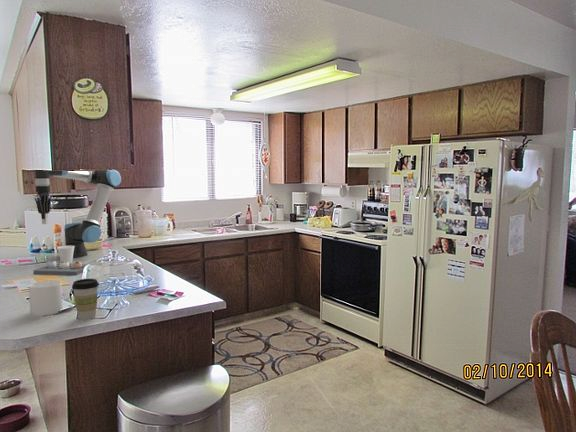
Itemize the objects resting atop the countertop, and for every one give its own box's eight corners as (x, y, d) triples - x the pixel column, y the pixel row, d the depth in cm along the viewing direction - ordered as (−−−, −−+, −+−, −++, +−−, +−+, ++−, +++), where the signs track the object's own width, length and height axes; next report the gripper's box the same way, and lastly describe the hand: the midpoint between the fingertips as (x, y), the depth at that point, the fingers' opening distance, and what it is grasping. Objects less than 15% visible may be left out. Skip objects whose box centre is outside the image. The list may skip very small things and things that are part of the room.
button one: (51, 268, 250) (50, 260, 249) (58, 268, 249) (58, 260, 249) (45, 270, 245) (45, 262, 244) (53, 270, 244) (52, 262, 244)
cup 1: (54, 305, 184) (52, 278, 182) (67, 310, 177) (66, 283, 176) (25, 312, 174) (23, 284, 173) (38, 318, 167) (36, 289, 166)
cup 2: (78, 262, 268) (77, 245, 267) (69, 265, 259) (68, 248, 257) (64, 262, 269) (63, 245, 268) (54, 265, 260) (53, 248, 258)
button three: (76, 269, 248) (75, 261, 248) (83, 269, 248) (83, 261, 247) (71, 271, 243) (70, 263, 243) (79, 271, 243) (78, 263, 242)
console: (54, 266, 256) (53, 263, 256) (94, 267, 254) (94, 264, 254) (33, 273, 239) (33, 270, 238) (76, 275, 236) (76, 271, 236)
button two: (63, 268, 249) (63, 261, 248) (71, 269, 248) (70, 261, 248) (58, 270, 244) (57, 262, 244) (66, 270, 244) (65, 263, 243)
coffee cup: (88, 322, 163) (86, 285, 161) (67, 320, 165) (65, 283, 164) (105, 314, 172) (104, 279, 170) (86, 312, 175) (84, 277, 173)
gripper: (44, 185, 259) (46, 222, 262) (29, 185, 246) (31, 225, 249) (55, 185, 258) (57, 222, 261) (41, 186, 246) (43, 225, 248)
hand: (45, 224), depth 255 cm, fingers closed
